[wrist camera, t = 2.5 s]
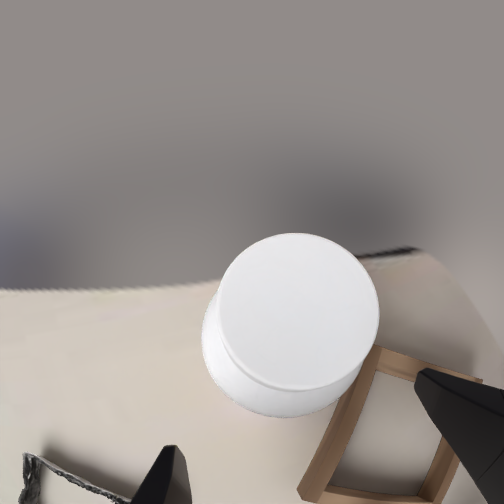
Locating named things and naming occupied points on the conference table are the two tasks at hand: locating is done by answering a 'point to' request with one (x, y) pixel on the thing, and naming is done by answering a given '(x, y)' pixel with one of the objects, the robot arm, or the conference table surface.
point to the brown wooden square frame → (341, 428)
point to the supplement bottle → (290, 325)
